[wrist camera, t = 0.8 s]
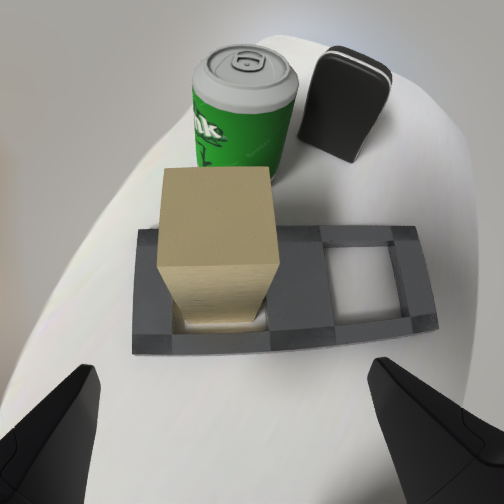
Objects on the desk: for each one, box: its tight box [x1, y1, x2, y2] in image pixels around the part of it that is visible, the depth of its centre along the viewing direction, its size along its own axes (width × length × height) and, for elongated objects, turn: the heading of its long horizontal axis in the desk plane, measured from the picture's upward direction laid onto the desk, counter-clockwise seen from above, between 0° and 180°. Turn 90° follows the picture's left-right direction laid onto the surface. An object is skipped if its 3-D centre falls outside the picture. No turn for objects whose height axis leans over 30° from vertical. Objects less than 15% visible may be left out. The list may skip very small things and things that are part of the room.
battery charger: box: [297, 46, 392, 163], centre depth 27 cm, size 7×4×11 cm, turn 63°
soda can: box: [192, 44, 299, 181], centre depth 24 cm, size 8×8×12 cm
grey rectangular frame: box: [132, 226, 439, 356], centre depth 25 cm, size 10×25×1 cm, turn 94°
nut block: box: [157, 167, 280, 324], centre depth 19 cm, size 5×5×12 cm
